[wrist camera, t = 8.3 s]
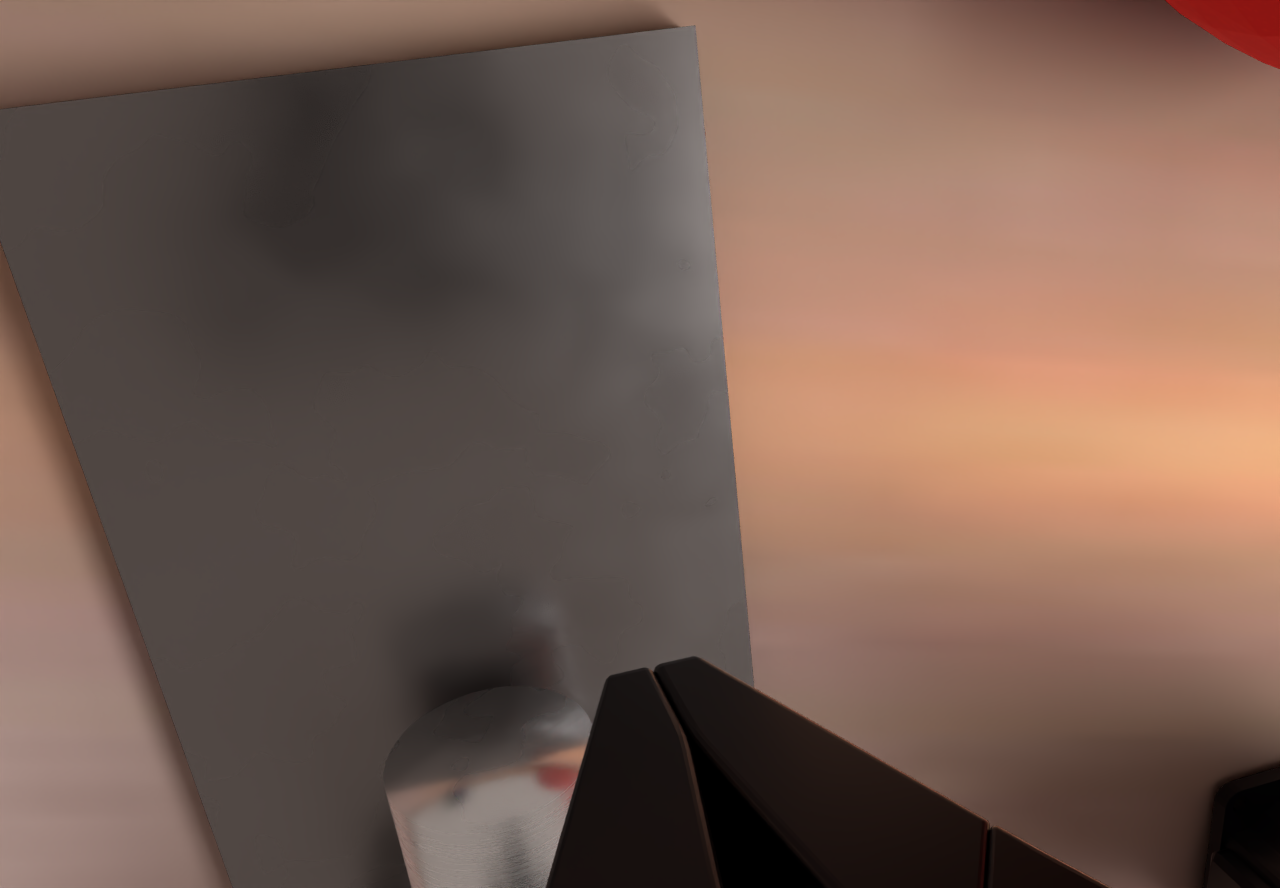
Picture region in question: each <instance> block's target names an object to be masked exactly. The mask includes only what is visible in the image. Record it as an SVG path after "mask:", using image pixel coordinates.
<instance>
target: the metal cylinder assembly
mask: <svg viewBox="0 0 1280 888" xmlns="http://www.w3.org/2000/svg"><path fill="white" fill-rule="evenodd" d="M0 242H1V244H2V247H3V250H4V253H5V256H6V258H7V261H8V264H9V267H10V269H11V272H12V275H13V278H14V281H15V283H16V286H17V289H18V292H19V294H20V297H21V300H22V303H23V306H24V308H25V311H26V314H27V317H28V320H29V322H30V325H31V328H32V331H33V333H34V336H35V339H36V342H37V345H38V347H39V350H40V353H41V356H42V358H43V361H44V364H45V367H46V370H47V372H48V375H49V378H50V381H51V383H52V386H53V389H54V392H55V395H56V397H57V400H58V403H59V406H60V409H61V411H62V414H63V417H64V420H65V422H66V425H67V428H68V431H69V434H70V436H71V439H72V442H73V445H74V447H75V450H76V453H77V456H78V459H79V461H80V464H81V467H82V470H83V472H84V475H85V478H86V481H87V484H88V486H89V489H90V492H91V495H92V498H93V500H94V503H95V506H96V509H97V511H98V514H99V517H100V520H101V523H102V525H103V528H104V531H105V534H106V536H107V539H108V542H109V545H110V548H111V550H112V553H113V556H114V559H115V562H116V564H117V567H118V570H119V573H120V575H121V578H122V581H123V584H124V587H125V589H126V592H127V595H128V598H129V600H130V603H131V606H132V609H133V612H134V614H135V617H136V620H137V623H138V625H139V628H140V631H141V634H142V637H143V639H144V642H145V645H146V648H147V651H148V653H149V656H150V659H151V662H152V664H153V667H154V670H155V673H156V676H157V678H158V681H159V684H160V687H161V689H162V692H163V695H164V698H165V701H166V703H167V706H168V709H169V712H170V714H171V717H172V720H173V723H174V726H175V728H176V731H177V734H178V737H179V740H180V742H181V745H182V748H183V751H184V753H185V756H186V759H187V762H188V765H189V767H190V770H191V773H192V776H193V778H194V781H195V784H196V787H197V790H198V792H199V795H200V798H201V801H202V803H203V806H204V809H205V812H206V815H207V817H208V820H209V823H210V826H211V829H212V831H213V834H214V837H215V840H216V842H217V845H218V848H219V851H220V854H221V856H222V859H223V862H224V865H225V867H226V870H227V873H228V876H229V879H230V881H231V884H232V887H233V888H411V884H410V880H409V877H408V873H407V869H406V866H405V862H404V858H403V854H402V851H401V847H400V843H399V840H398V836H397V832H396V829H395V825H394V821H393V817H392V814H391V810H390V806H389V803H388V799H387V795H386V791H385V788H384V781H383V773H384V766H385V763H386V760H387V757H388V755H389V753H390V751H391V749H392V748H393V746H394V745H395V743H396V742H397V740H398V739H399V738H400V737H401V736H402V734H403V733H404V732H405V731H406V730H407V729H408V728H409V727H410V726H411V725H413V724H414V723H415V722H416V721H418V720H419V719H420V718H421V717H423V716H424V715H426V714H427V713H429V712H430V711H432V710H434V709H435V708H437V707H439V706H441V705H443V704H445V703H447V702H449V701H451V700H454V699H456V698H459V697H461V696H464V695H467V694H470V693H474V692H477V691H481V690H486V689H491V688H498V687H506V686H530V687H538V688H544V689H548V690H552V691H555V692H557V693H560V694H563V695H565V696H567V697H568V698H570V699H572V700H573V701H575V702H576V703H577V704H578V705H579V706H580V707H581V708H582V709H583V710H584V711H585V712H586V714H587V715H588V717H589V719H590V721H591V724H593V721H594V717H595V714H596V710H597V707H598V704H599V700H600V697H601V693H602V690H603V686H604V683H605V681H606V679H607V678H608V677H609V676H610V675H613V674H617V673H622V672H626V671H630V670H635V669H639V668H643V667H645V668H650V669H651V670H652V671H653V672H654V669H655V667H656V666H657V665H659V664H661V663H665V662H669V661H674V660H678V659H682V658H686V657H691V656H697V657H700V658H702V659H704V660H706V661H708V662H709V663H711V664H713V665H715V666H716V667H718V668H720V669H722V670H724V671H725V672H727V673H729V674H731V675H732V676H734V677H736V678H738V679H739V680H741V681H743V682H745V683H746V684H748V685H750V686H752V687H753V688H754V680H753V669H752V658H751V647H750V635H749V624H748V613H747V602H746V590H745V579H744V568H743V557H742V545H741V534H740V523H739V511H738V500H737V489H736V478H735V466H734V455H733V444H732V433H731V421H730V410H729V399H728V388H727V376H726V365H725V354H724V343H723V331H722V320H721V309H720V297H719V286H718V275H717V264H716V252H715V241H714V230H713V219H712V207H711V196H710V185H709V174H708V162H707V151H706V140H705V129H704V117H703V106H702V95H701V83H700V72H699V61H698V50H697V38H696V27H695V25H694V26H686V27H678V28H670V29H661V30H653V31H645V32H637V33H628V34H620V35H612V36H603V37H595V38H587V39H579V40H570V41H562V42H554V43H545V44H537V45H529V46H521V47H512V48H504V49H496V50H487V51H479V52H471V53H463V54H454V55H446V56H438V57H430V58H421V59H413V60H405V61H396V62H388V63H380V64H372V65H363V66H355V67H347V68H338V69H330V70H322V71H314V72H305V73H297V74H289V75H280V76H272V77H264V78H256V79H247V80H239V81H231V82H223V83H214V84H206V85H198V86H189V87H181V88H173V89H165V90H156V91H148V92H140V93H131V94H123V95H115V96H107V97H98V98H90V99H82V100H73V101H65V102H57V103H49V104H40V105H32V106H24V107H16V108H7V109H0Z"/></svg>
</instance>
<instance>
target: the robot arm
mask: <svg viewBox="0 0 1280 888" xmlns="http://www.w3.org/2000/svg"><path fill="white" fill-rule="evenodd" d="M545 888H1111V887H1109V886H1107V885H1105V884H1103V883H1101V882H1099V881H1098V880H1096V879H1094V878H1092V877H1090V876H1088V875H1086V874H1085V873H1083V872H1081V871H1079V870H1077V869H1075V868H1073V867H1072V866H1070V865H1068V864H1066V863H1064V862H1062V861H1060V860H1058V859H1057V858H1055V857H1053V856H1051V855H1049V854H1047V853H1045V852H1044V851H1042V850H1040V849H1038V848H1036V847H1034V846H1033V845H1031V844H1029V843H1027V842H1026V841H1024V840H1022V839H1020V838H1019V837H1017V836H1015V835H1013V834H1012V833H1010V832H1008V831H1006V830H1004V829H1003V828H1001V827H999V826H993V827H991V829H990V824H989V822H988V821H987V820H986V819H984V818H983V817H981V816H979V815H977V814H976V813H974V812H972V811H970V810H968V809H967V808H965V807H963V806H961V805H960V804H958V803H956V802H954V801H953V800H951V799H949V798H947V797H946V796H944V795H942V794H940V793H939V792H937V791H935V790H933V789H931V788H930V787H928V786H926V785H924V784H923V783H921V782H919V781H917V780H916V779H914V778H912V777H910V776H909V775H907V774H905V773H903V772H902V771H900V770H898V769H896V768H894V767H893V766H891V765H889V764H887V763H886V762H884V761H882V760H880V759H879V758H877V757H875V756H873V755H872V754H870V753H868V752H866V751H865V750H863V749H861V748H859V747H857V746H856V745H854V744H852V743H850V742H849V741H847V740H845V739H843V738H842V737H840V736H838V735H836V734H835V733H833V732H831V731H829V730H828V729H826V728H824V727H822V726H820V725H819V724H817V723H815V722H813V721H812V720H810V719H808V718H806V717H805V716H803V715H801V714H799V713H798V712H796V711H794V710H792V709H790V708H789V707H787V706H785V705H783V704H782V703H780V702H778V701H776V700H775V699H773V698H771V697H769V696H768V695H766V694H764V693H762V692H761V691H759V690H757V689H755V688H753V687H752V686H750V685H748V684H746V683H745V682H743V681H741V680H739V679H738V678H736V677H734V676H732V675H731V674H729V673H727V672H725V671H724V670H722V669H720V668H718V667H716V666H715V665H713V664H711V663H709V662H708V661H706V660H704V659H702V658H700V657H697V656H691V657H686V658H682V659H678V660H674V661H669V662H665V663H661V664H659V665H657V666H656V667H655V669H654V672H653V671H652V670H651V669H650V668H645V667H643V668H639V669H635V670H630V671H626V672H622V673H617V674H613V675H610V676H609V677H608V678H607V679H606V681H605V683H604V686H603V690H602V693H601V697H600V700H599V704H598V707H597V710H596V714H595V717H594V721H593V724H592V728H591V731H590V735H589V738H588V742H587V745H586V749H585V752H584V756H583V759H582V762H581V766H580V769H579V773H578V776H577V780H576V783H575V787H574V790H573V794H572V797H571V801H570V804H569V808H568V811H567V814H566V818H565V821H564V825H563V828H562V832H561V835H560V839H559V842H558V846H557V849H556V853H555V856H554V859H553V863H552V866H551V870H550V873H549V877H548V880H547V884H546V887H545ZM1203 888H1280V767H1279V768H1275V769H1272V770H1268V771H1265V772H1261V773H1258V774H1255V775H1251V776H1248V777H1244V778H1241V779H1237V780H1234V781H1231V782H1229V783H1227V784H1225V785H1224V786H1222V787H1221V788H1220V789H1219V791H1218V792H1217V794H1216V797H1215V800H1214V808H1213V816H1212V824H1211V832H1210V839H1209V847H1208V855H1207V863H1206V871H1205V879H1204V886H1203Z"/></svg>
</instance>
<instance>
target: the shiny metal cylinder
mask: <svg viewBox="0 0 1280 888" xmlns="http://www.w3.org/2000/svg"><path fill="white" fill-rule="evenodd" d="M591 728H592V724H591V721H590V719H589V717H588V715H587V714H586V712H585V711H584V710H583V709H582V708H581V707H580V706H579V705H578V704H577V703H576V702H575V701H573V700H572V699H570V698H568V697H567V696H565V695H563V694H560V693H557V692H555V691H552V690H548V689H544V688H538V687H530V686H506V687H498V688H491V689H486V690H481V691H477V692H474V693H470V694H467V695H464V696H461V697H459V698H456V699H454V700H451V701H449V702H447V703H445V704H443V705H441V706H439V707H437V708H435V709H434V710H432V711H430V712H429V713H427V714H426V715H424V716H423V717H421V718H420V719H419V720H418V721H416V722H415V723H414V724H413V725H411V726H410V727H409V728H408V729H407V730H406V731H405V732H404V733H403V734H402V736H401V737H400V738H399V739H398V740H397V742H396V743H395V745H394V746H393V748H392V749H391V751H390V753H389V755H388V757H387V760H386V763H385V766H384V773H383V781H384V788H385V791H386V795H387V799H388V803H389V806H390V810H391V814H392V817H393V821H394V825H395V829H396V832H397V836H398V840H399V843H400V847H401V851H402V854H403V858H404V862H405V866H406V869H407V873H408V877H409V880H410V884H411V888H545V887H546V884H547V880H548V877H549V873H550V870H551V866H552V863H553V859H554V856H555V853H556V849H557V846H558V842H559V839H560V835H561V832H562V828H563V825H564V821H565V818H566V814H567V811H568V808H569V804H570V801H571V797H572V794H573V790H574V787H575V783H576V780H577V776H578V773H579V769H580V766H581V762H582V759H583V756H584V752H585V749H586V745H587V742H588V738H589V735H590V731H591Z"/></svg>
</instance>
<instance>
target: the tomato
mask: <svg viewBox="0 0 1280 888" xmlns="http://www.w3.org/2000/svg"><path fill="white" fill-rule="evenodd" d="M1165 1H1166V2H1168V3H1169V4H1170V5H1171V6H1172V7H1173V8H1174V9H1175V10H1176V11H1178V12H1179V13H1180V14H1181V15H1183V16H1184V17H1186V18H1187V19H1189V20H1190V21H1192V22H1194V23H1195V24H1197V25H1198V26H1200V27H1201V28H1203V29H1204V30H1206V31H1207V32H1209V33H1210V34H1212V35H1213V36H1215V37H1216V38H1218V39H1219V40H1221V41H1222V42H1224V43H1226V44H1228V45H1229V46H1231V47H1233V48H1235V49H1237V50H1239V51H1241V52H1243V53H1245V54H1247V55H1249V56H1251V57H1253V58H1255V59H1257V60H1259V61H1261V62H1263V63H1265V64H1268V65H1270V66H1273V67H1276V68H1278V69H1280V0H1165Z"/></svg>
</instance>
